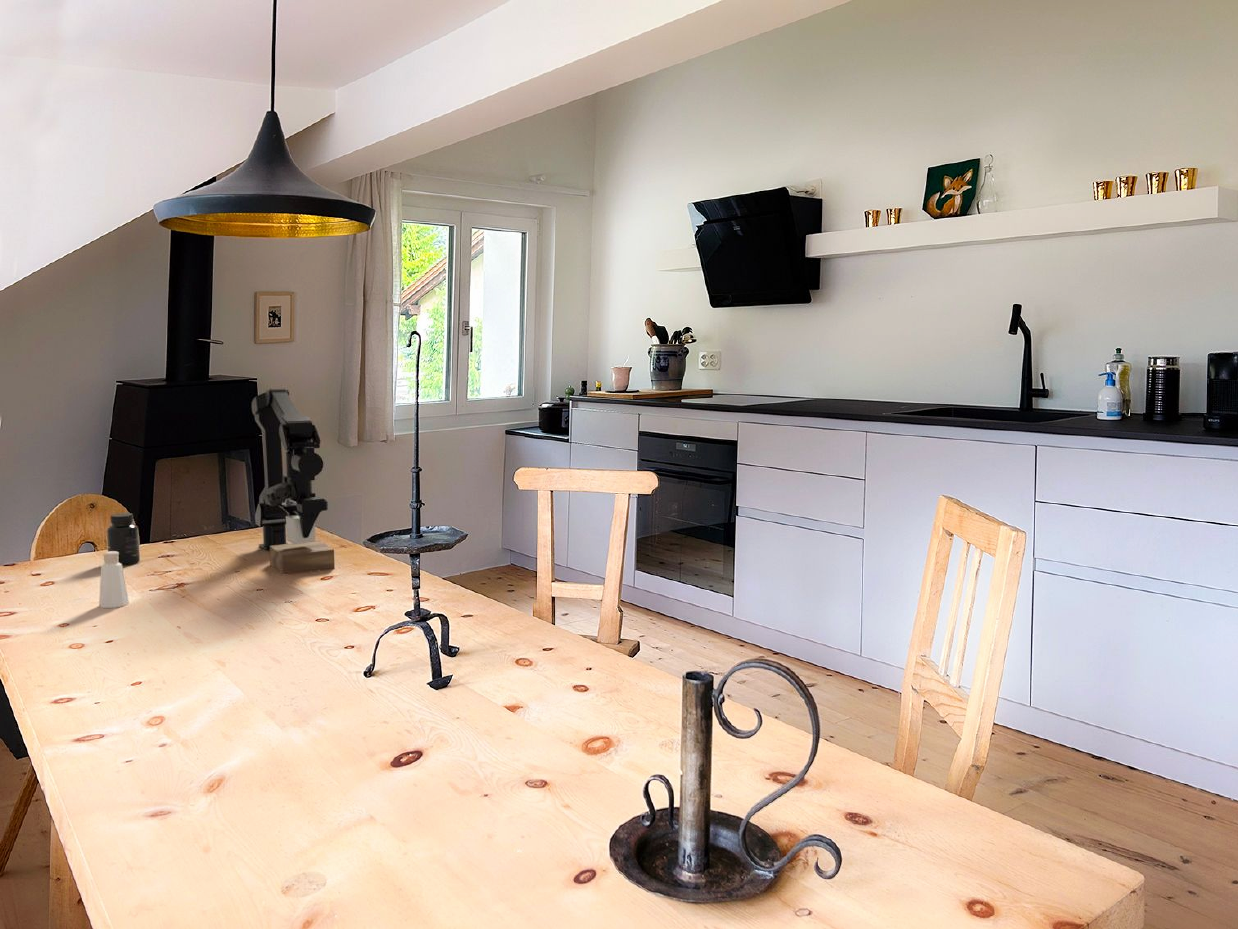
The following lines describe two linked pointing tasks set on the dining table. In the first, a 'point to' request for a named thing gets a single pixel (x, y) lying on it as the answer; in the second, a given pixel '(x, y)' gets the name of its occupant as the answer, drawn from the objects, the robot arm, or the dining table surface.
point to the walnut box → (301, 557)
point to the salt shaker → (112, 582)
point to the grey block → (297, 531)
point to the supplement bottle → (124, 538)
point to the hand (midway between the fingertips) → (301, 536)
